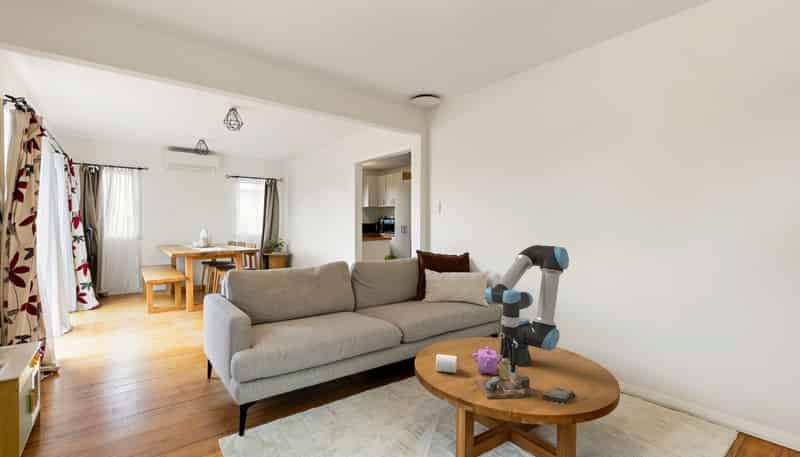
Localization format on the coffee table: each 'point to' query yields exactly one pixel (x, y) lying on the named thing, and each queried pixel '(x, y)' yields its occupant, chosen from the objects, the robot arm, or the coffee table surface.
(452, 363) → the mug
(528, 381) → the shafts
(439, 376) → the coffee table surface
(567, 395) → the stone
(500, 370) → the gold cube
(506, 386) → the framed base plate
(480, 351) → the teapot
